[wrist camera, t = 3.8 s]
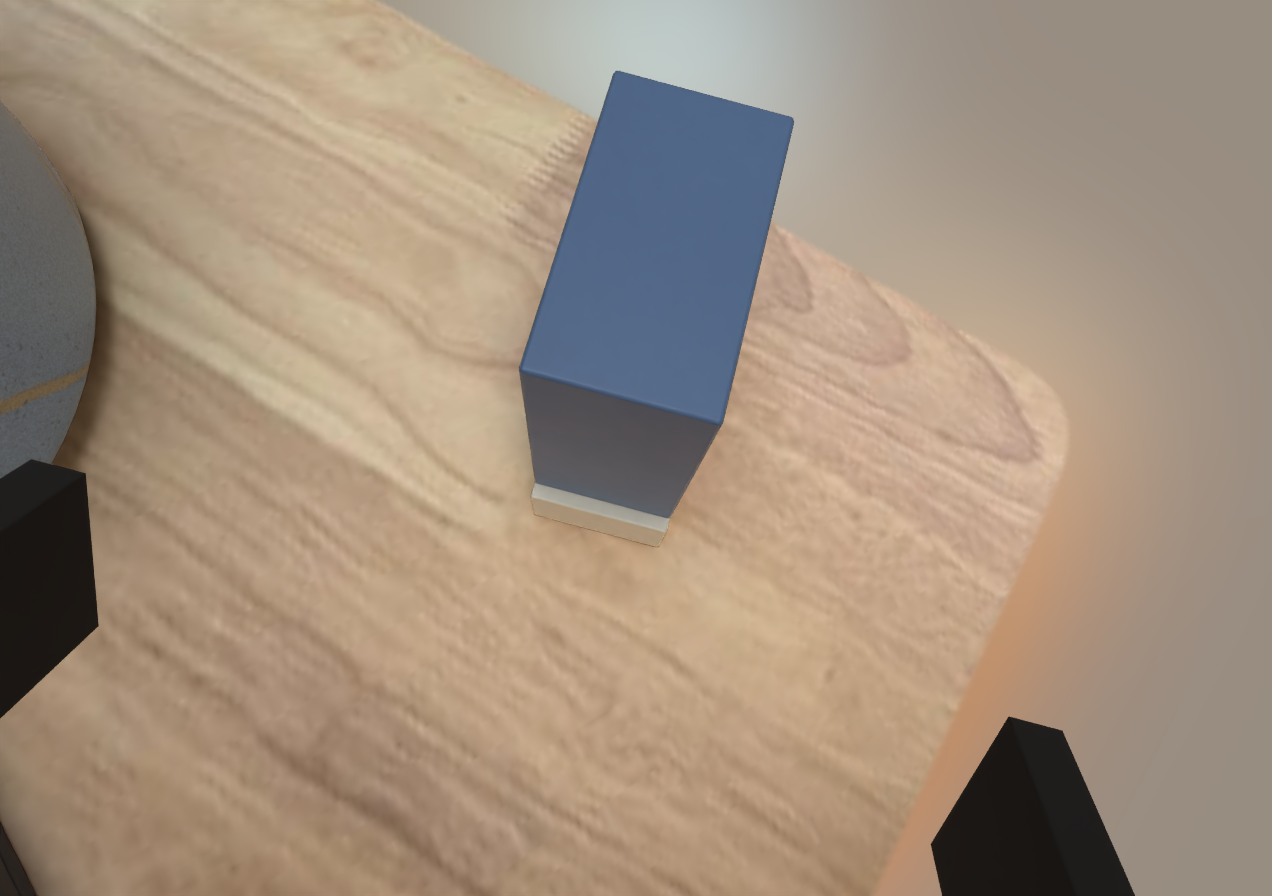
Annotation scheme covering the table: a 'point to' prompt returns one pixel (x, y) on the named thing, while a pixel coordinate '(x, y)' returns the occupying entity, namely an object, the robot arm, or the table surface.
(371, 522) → the table surface
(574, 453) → the eraser
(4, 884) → the tray
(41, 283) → the planter
